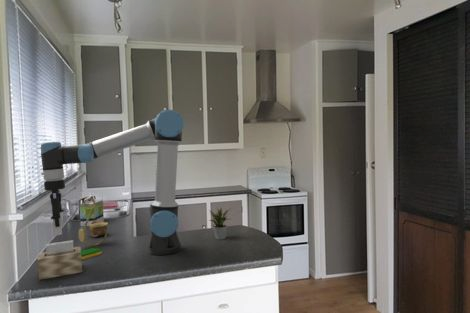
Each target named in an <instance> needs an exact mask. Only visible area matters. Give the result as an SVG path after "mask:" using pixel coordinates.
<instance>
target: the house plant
mask: <svg viewBox="0 0 470 313" xmlns="http://www.w3.org/2000/svg"><path fill="white" fill-rule="evenodd" d="M216 210H217V212H216V213H214V212H213V211H212V210H210V209H209V210H208V211H209V213H210V216H212V217H213V218H212V219H210V220H208V221H209V222H213V223H214V225H213V227H212V228H213V232H214V236H215V237H214V238H215V240H224V239H226V238H227V229H228V224H225V222H227V221H228V220H232V217H229V219H228V218H227V217H228V213H229V212H230V211H231V210H232V208H228V209H226V211H225V212H224V213H223V209H222V207H220V208H218V207H216Z"/></svg>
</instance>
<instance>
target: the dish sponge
mask: <svg viewBox="0 0 470 313" xmlns="http://www.w3.org/2000/svg"><path fill="white" fill-rule="evenodd" d="M102 253H103V252H102V249H100V248H96V247H91V248H87V249H84V250H81V259H82V261H83V260H85V259H90V258H93V257H96V256H99V255H101V254H102Z"/></svg>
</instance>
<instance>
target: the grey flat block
mask: <svg viewBox="0 0 470 313" xmlns="http://www.w3.org/2000/svg"><path fill="white" fill-rule="evenodd" d="M74 247H75V246H74V239H73V240H72V239H71V240H65V241H64V240H63V241H60V242H52V243H46V245H45V252H47V256H51V255H57V254H64V253H70V252H74Z"/></svg>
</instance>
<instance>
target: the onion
mask: <svg viewBox="0 0 470 313" xmlns="http://www.w3.org/2000/svg"><path fill="white" fill-rule="evenodd" d="M100 222H104V221H93V222H92V223H91V224H94V223H100ZM103 227H105V229H106V230H107V231H108V224H107V225H105V226H103ZM94 228H96V227H89V233H90V234H91V231H92V230H93V229H94ZM99 230H101V231H100V233H98V232H97V231H98V229H96V230H94V231H93V235H98V236H96V237H103V236H105V231H104V229H103V228H100V229H99ZM96 237H95V238H96Z"/></svg>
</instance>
